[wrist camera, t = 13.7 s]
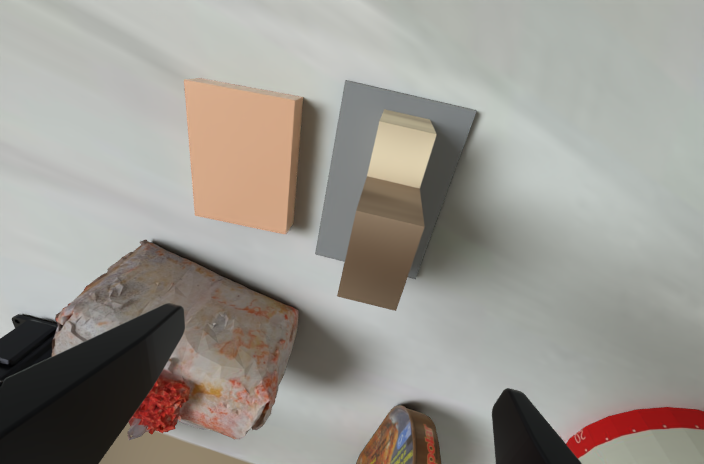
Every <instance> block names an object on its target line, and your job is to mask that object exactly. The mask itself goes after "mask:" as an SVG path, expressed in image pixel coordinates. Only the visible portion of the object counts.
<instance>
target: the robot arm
mask: <svg viewBox="0 0 704 464" xmlns="http://www.w3.org/2000/svg"><path fill="white" fill-rule="evenodd" d="M12 321H13V324H14V326H15V329H14V330H12V331H11V332H9V333H8V334H6V335H5V336H4V337H2V338H1V339H0V464H99V462H100V461H101V459H102V458H103V457H104V455H105V454H106V452H107V451H108V450H109V448H110V447H111V445H112V444H113V443H114V441H115V440H116V438H117V437H118V436H119V434H120V433H121V431H122V430H123V429H124V427H125V426H126V424H127V423H128V422H129V420H130V419H131V417H132V416H133V415H134V413H135V412H136V410H137V409H138V408H139V406H140V405H141V403H142V402H143V401H144V399H145V398H146V396H147V395H148V394H149V392H150V391H151V389H152V388H153V386H154V384H155V383H156V381H157V379H158V378H159V376H160V374H161V373H162V371H163V369H164V367H165V366H166V364H167V362H168V360H169V359H170V357H171V355H172V353H173V352H174V350H175V348H176V346H177V345H178V343H179V341H180V339H181V338H182V336H183V334H184V330H185V318H184V308H183V307H182V306H180V305H176V304H173V303H166V304H164V305H161V306H159V307H157V308H155V309H153V310H151V311H149V312H146V313H144V314H142V315H140V316H138V317H136V318H134V319H131V320H129V321H127V322H125V323H123V324H121V325H119V326H117V327H114V328H112V329H110V330H108V331H106V332H104V333H102V334H99V335H97V336H95V337H93V338H91V339H89V340H87V341H85V342H82V343H80V344H78V345H76V346H74V347H72V348H70V349H67V350H65V351H63V352H61V353H59V354H57V355H55V356H52V340H53V338H54V336H55V333H56V330H57V327H58V324H55V323H51V322H47V321H43V320H39V319H36V318H32V317H28V316H24V315H20V314H18V315H16V316H14V317H13V318H12ZM492 421H493V433H494V445H495V457H496V464H582V463H581V462H580V461H579V459H578V458H577V457H576V456H575V455H574V453H573V452H572V451H571V450H570V449H569V447H568V446H567V445H566V444H565V443H564V441H563V440H562V439H561V438H560V436H559V435H558V434H557V433H556V432H555V430H554V429H553V428H552V427H551V426H550V424H549V423H548V422H547V421H546V420H545V418H544V417H543V416H542V415H541V414H540V412H539V411H538V410H537V409H536V408H535V406H534V405H533V404H532V403H531V402H530V400H529V399H528V398H527V397H526V395H525V394H524V393H522V392H521V391H517V390H513V389H509V388H507V389H505V390H504V391H503V392H502V394H501V395H500V397H499V398H498V400H497V401H496V403H495V404H494V406H493V410H492Z"/></svg>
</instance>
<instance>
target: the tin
mask: <svg viewBox="0 0 704 464" xmlns="http://www.w3.org/2000/svg"><path fill="white" fill-rule="evenodd" d="M356 464H441V457H440V448H439V442H438V437H437V432H436V427H435V424H434V422H433V421H432V420H431V418H430V417H428V416H427V415H425V414H423V413H420V412H417V411H414V410H411V409H407V408H406V407H404V406H402V405H398V406H395V407H394V408H393V409H391V411H390V412H389V413H388V415H387V416H386V418H385V419H384V421H383V422H382V424H381V425H380V426H379V428H378V429H377V431H376V432H375V434H374V435H373V437H372V438H371V439H370V441H369V442H368V444H367V445H366V447H365V448H364V449H363V451H362V452H361V454H360V456H359V458H358V460H357V463H356Z"/></svg>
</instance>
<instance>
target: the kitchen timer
mask: <svg viewBox="0 0 704 464" xmlns="http://www.w3.org/2000/svg"><path fill="white" fill-rule="evenodd" d="M566 445H567V446H568V447H569V449H570V450H571V451H572V452H573V453H574V455H575V456H576V457H577V458H578V459H579V461H580V462H581V463H582V464H704V411H700V410H696V409H684V408H672V407H663V408H650V409H638V410H633V411H629V412H625V413H620V414H616V415H612V416H608V417H606V418H604V419H602V420H599V421H597V422H595V423H593V424H590V425H588V426H586V427H585V428H583V429H582V430H581V431H579V432H578V433H577V434H575V435H574V436H573V437H571V438H570V439H569V440H568V442H567V443H566Z"/></svg>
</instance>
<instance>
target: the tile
mask: <svg viewBox="0 0 704 464" xmlns="http://www.w3.org/2000/svg"><path fill="white" fill-rule="evenodd" d="M184 86H185V98H186V111H187V123H188V135H189V147H190V160H191V172H192V184H193V196H194V209H195V216H200V217H205V218H210V219H214V220H219V221H224V222H229V223H233V224H238V225H243V226H248V227H253V228H257V229H262V230H267V231H272V232H276V233H281V234H287V232H288V231H289V229H290V228H291V226H292V225H293V221H294V209H295V196H296V183H297V171H298V158H299V145H300V133H301V120H302V107H303V97H300V96H294V95H289V94H283V93H278V92H273V91H267V90H262V89H256V88H251V87H246V86H240V85H235V84H229V83H224V82H218V81H213V80H208V79H202V78H195V79H184Z"/></svg>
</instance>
